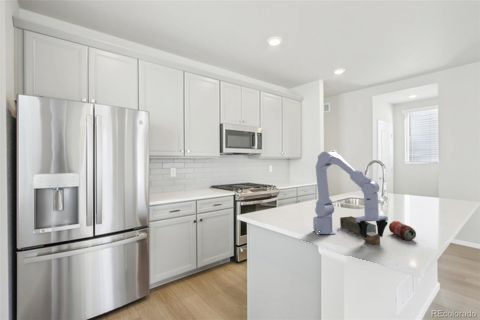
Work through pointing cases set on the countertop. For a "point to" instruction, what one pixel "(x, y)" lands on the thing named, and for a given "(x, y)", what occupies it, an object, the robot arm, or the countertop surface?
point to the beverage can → (402, 230)
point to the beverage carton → (355, 225)
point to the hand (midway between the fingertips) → (372, 236)
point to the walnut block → (372, 239)
